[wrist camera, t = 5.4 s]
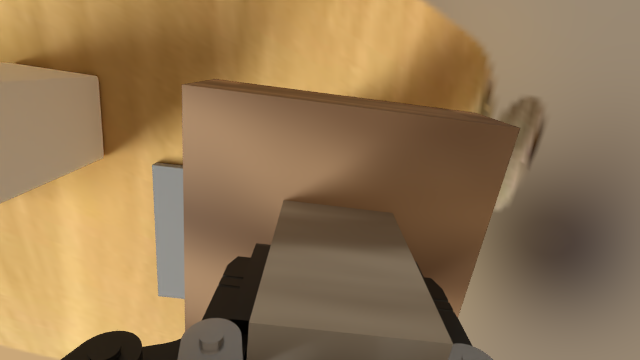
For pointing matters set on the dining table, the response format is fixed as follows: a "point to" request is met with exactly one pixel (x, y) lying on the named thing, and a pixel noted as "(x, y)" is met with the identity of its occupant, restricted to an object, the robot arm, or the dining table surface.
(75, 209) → the dining table surface
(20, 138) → the milk carton
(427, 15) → the dining table surface
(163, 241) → the rubber mat
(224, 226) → the tan plate with knob
